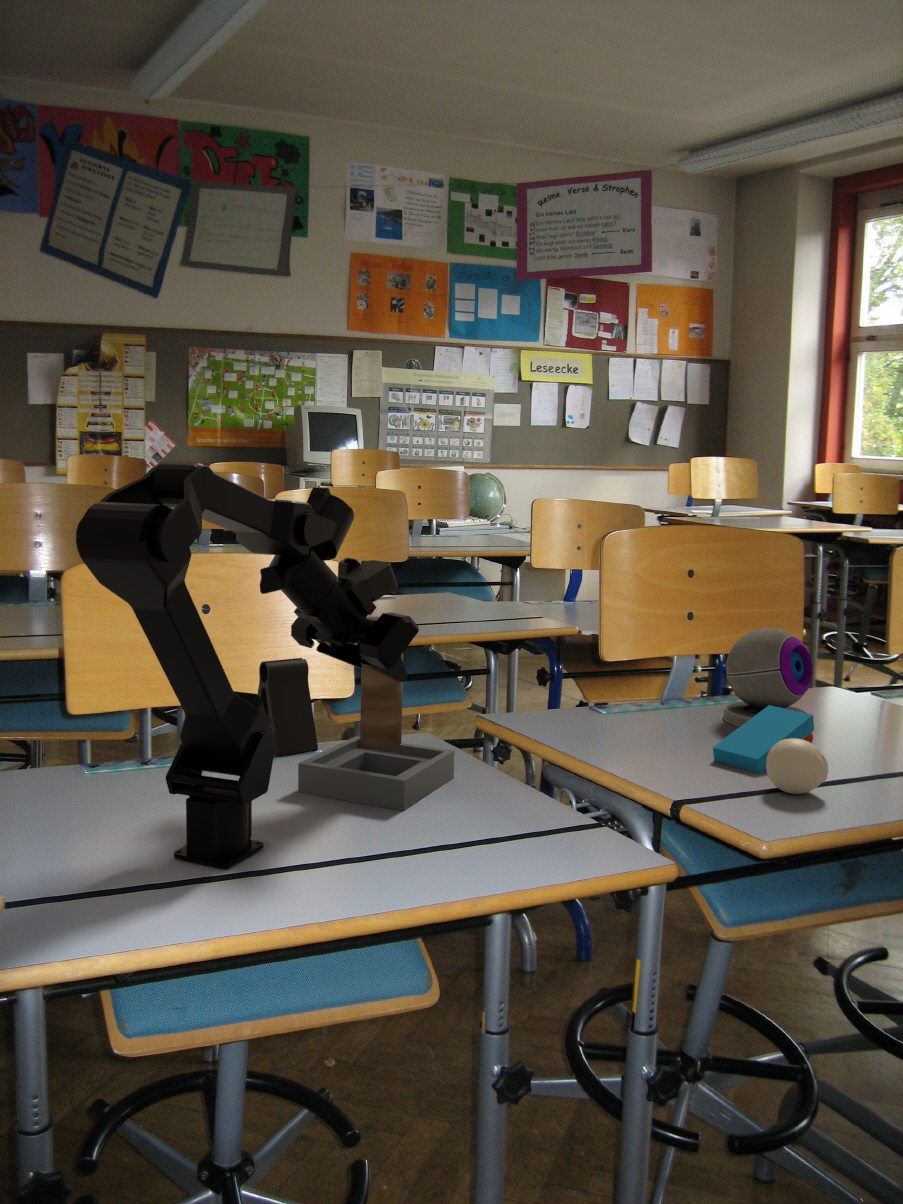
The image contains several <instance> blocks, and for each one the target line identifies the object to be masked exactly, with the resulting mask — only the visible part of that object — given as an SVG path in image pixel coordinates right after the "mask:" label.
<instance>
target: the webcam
mask: <svg viewBox="0 0 903 1204" xmlns="http://www.w3.org/2000/svg"><path fill="white" fill-rule="evenodd" d="M813 669H814V667H813V661H812V657H811V655H810V652H809V650H808V648H807V646H806V645H805V644H804V643H803V641H802V640H800V639H799V638H798V637H796V636H795V635H794V634H792V633H791V632H789V631H786V630H784V629H780V628H777V627H776V628H775V627H762V628H757V629H753V630H752V631H749V632H747V633H746V634H744V635H742V636H741V637H739V639H738V640H737V641H736V642H735V643H734V644H733V646H732V647H731V649H730V651H729V652H728V656H727V660H726V665H725V671H726V677H727V682H728V684H729V686H730V689H731V690H732V691H733V692H734V694H735V696H736V697H738V699H740V701H738V702H733V703H729V704H727V705H726V706H724V710H723V720H724V721H725V722H728V723H729V724H731V725H734V726H737V727H740V726H742V725H743V724H744V723H746V722H747V721H748V720H750V719H751V718H752V717H754V716H755V715H756V714H758V713H759V712H760V711H762V710H763V709H764V708H766V707H767V706H768V705H770V706H775V707H780V708H784V709H789V710H794V711H798V712H803V713H807V711H805V710H803V709H801V708H798V707H796V706H792V705H794V704H796V703H797V702H798V701H799V700H801V699H802V697H803V696H804V695H805V694H806V692H808V690H809V688H810V686H811V683H812V681H813V673H814V672H813Z"/></svg>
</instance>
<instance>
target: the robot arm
mask: <svg viewBox="0 0 903 1204" xmlns="http://www.w3.org/2000/svg"><path fill="white" fill-rule="evenodd" d="M203 520H204V521H206V522H209V523H210V524H213V525H216V526H218V527H221V528H222V529H223V528H224V529H226V530H229V531H231V532H233V533H234V534H236V542H237V543H239V544H240V545H241V546H242V547H244V549H246V550H247V551H249V552H250V553H253V554H259V555H260V554H261V555H262V554H263V555H274V556H273V558H272V560H271V562H270V563H269V566H266V567H262V568H261V569H260V571H259V573H260V581H259V592H260V594H262V595H266V594H270V593H274V592H278V591H281V592H282V593H283V595H285V596H286V597H287V599H288V600H290V601H291V603H292V604H293V605H294V606H295V607H296V608H295V609H294V610H293V613H294V614H295V615H296V616H297V618H296V619H294V622H292V624H291V625H290V629H291V630H290V636H291V638H293V640H294V641H295V642H296V643H297V644H298V645H299V646H301V647H305V648H308V649H313V647H314V646H315V641H316V642H317V643H318V645H317V646H316V649H315V650H316V652H318V653H320V654H322V655H323V654H324V655H325V656H328V657H331V658H333V659H336V660H337V661H341V662H343V663H346V664H347V665H350V666H353V667H354V668H355V667H356V668H358V669H360V670H361V664H362V665H365V666H367V667H369V668H371V669H374V670H376V671H378V672H380V673H382V674H384V675H387V676H389V677H391V678H393V679H395V680H398V681H400V682H403V683H404V682H405V681H406V679H407V678H408V676H409V675H408V671H407V669H406V667H405V663H404V659H403V660H402V658H401V654H402V653H403V654H404V652H405V650H406V649H407V648H408V647H409V645H410V644H411V642H412V641H413V640H414V639H415V637H416V636H417V635H418V633H419V632H420V628H419V627H420V626H419V625H418V624H417V623H416V622H415V620H414V619H413V618H412V617H411V616H410V615H407V614H406V615H405V614H401V613H396V612H382V614H380V616H378V617H379V618H378V620H376V621H373V620H369V619H367V618H366V617H369V616H372V614H373V613H374V612H375V610H376V609H377V606H376V605H375V604H374V602H376V601H377V600H379V599H381V598H383V597H384V596H385V595H387V594H389V593H390V592H392V593H393V592H394V591H396V590H397V589H398V588H399V584H398V582H397V579H396V577H395V573H394V571H393V568H392V565H391V563H390V562H389V561H382V560H374V559H370V560H362V561H361V562H359V561H358V560H357V559H356V558H353V557H344V559H342V560H340V561H338V563H337V564H338V565H337V575H336V573H335V572H334V571H333V570H332V569H331V568H330V566H329V565H328V564H327V563H326V561H331V560H334V559H336V557H337V556H338V553H339V551H340V549H341V547H342V545H343V542H344V541H345V538H346V537H347V535H348V533H349V531H350V529H351V526H352V524H353V522H354V520H355V513H354V510H353V508H352V507H351V506H349V505H348V504H347V502H345V500H343V499H342V498H340V497H338V496H335V495H333V494H332V493H331V490H330V488H329V487H312V489H311V491H310V493H309V495H308V498H307V500H306V502H304V501H298V500H297V501H296V500H288V499H276V498H268V497H265V496H263V495H261V494H259V493H257V492H255V491H254V490H250V489H249V488H247V487H244V486H243V485H240V484H239V483H236V482H234V481H233V480H230V479H228V478H227V477H224V476H222V475H220V474H218V473H217V472H214V471H213V470H212V469H211V468H210V467H209V466H205V465H204V464H202V463H199V462H177V461H175V462H172V461H170V462H169V461H164V462H162V463H159V464H156V465H155V466H152V467H151V468H150V469H149V470H148V471H146V473H145V474H144V475H143V476H142V477H139V478H138V479H136V480H134V481H131V482H130V483H128V484H125V485H124V486H121V487H119V488H117V489H115V490H112V491H110V492H109V493H107V494H106V495H105V496H104V497H103V498H101V499H100V501H99V502H96V503H94V504H92V505H91V506H90V507H89V508H87V510H86V511H85V513H84V514H83V517H81V519H80V521H79V522H78V523H77V526H76V527H77V528H76V530H75V545H76V549H77V552H78V555H79V557H80V559H81V561H82V562H83V564H85V566H86V567H87V569H88V570H89V572H91V574H92V575H93V576H94V578H95V579H96V580H97V582H98V584H100V585H101V586H102V587H104V588H105V589H107V590H108V591H110V592H111V593H112V594H114V595H116V596H117V597H118V598H120V600H123V601H124V602H126V603H127V604H128V605H129V606H130V607H131V609H132V611H133V613H134V615H135V617H136V619H137V622H138V623H139V625H140V627H141V629H142V631H143V632H144V635H145V636H146V638H147V641H148V643H149V644H150V647H151V649H152V650H153V653H154V655H155V657H156V659H157V661H158V662H159V664H160V666H161V668H162V671H163V673H164V675H165V676H166V678H167V680H168V683H169V684H170V686H171V688H172V690H173V693H174V694H175V696H176V699H177V700H178V702H179V704H180V706H181V708H182V710H183V713H184V719H183V722H182V725H181V729H180V732H179V734H178V735H179V737H178V738H179V739H180V743H181V744H180V745H179V747H178V749H177V752H176V753H175V756H174V758H173V760H172V762H171V765H170V766H169V768H168V771H167V772H166V774H165V781H166V785H167V789H168V793H169V794H170V795H182V796H186V797H187V796H188V797H187V798H186V799H185V821H186V822H185V831H186V833H185V836H186V837H185V839H186V842H185V843H186V844H185V845H184V846H183V847H180V848H178V849H176V850H174V851H173V858H175V859H178V860H184V861H188V862H194V863H197V864H201V865H202V864H203V865H207V866H211V867H216V868H220V869H228V868H230V867H232V866H234V865H236V864H238V863H240V862H241V861H242V860H244V859H246V858H249V857H250V856H252V855H253V854H255V853H257V852H259V851H260V850H262V849H263V848H264V842H262V841H259V840H254V839H251V838H252V835H253V832H252V828H253V827H252V825H253V822H252V821H253V820H252V814H253V813H252V810H253V804H252V803H253V802H252V801H254V800H256V799H258V798H260V797H261V796H262V795H265V794H266V793H268V792H269V786H270V785H269V784H270V780H271V775H272V768H273V763H274V758H275V755H274V753H275V740H274V737H273V734H272V730H271V728H270V726H269V724H270V723H271V722H272V720H271V719H270V718H269V717H268V716H267V714H266V712H265V709H264V705H263V702H262V700H261V698H260V697H259V696H258V695H257V694H258V693H253V692H244V691H235V690H233V688H232V685H231V683H230V681H229V678H228V677H227V674H226V672H225V670H224V669H225V668H224V667H223V665H222V663H221V660H220V659H219V656H218V654H217V651H216V650H215V646H214V645H213V642H212V639H211V638H210V636H209V634H208V631H207V630H206V627H205V625H204V622H203V621H202V618H201V616H200V614H199V612H198V609H197V606H196V605H195V603H194V599H193V598H192V596H191V594H190V591H189V590H188V587H187V584H186V581H185V580H186V577H187V573H188V569H189V565H190V562H191V558H192V551H191V546H192V545H193V544H194V542H196V540H198V538H199V537H200V536H201V535H202V533H203ZM314 640H315V641H314ZM362 657H363V659H362ZM203 772H208V773H217V774H222V775H223V774H224V775H230V776H237V777H239V778H238V780H235V779H230V778H221V777H215V776H209V775H202V774H203Z"/></svg>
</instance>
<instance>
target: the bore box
mask: <svg viewBox="0 0 903 1204" xmlns="http://www.w3.org/2000/svg"><path fill="white" fill-rule="evenodd" d="M297 765H298V766H297V769H298V770H297V771H298V773H297V778H298V779H297V782H298V783H297V788H298V789H297V793H303V794H307V795H308V794H309V795H314V796H319V797H326V798H331V799H335V800H342V801H347V802H353V803H359V804H363V805H369V806H370V805H371V806H374V807H375V806H376V807H381V808H385V809H386V808H387V809H392V810H398V811H401V812H404V811H406V810H407V809H409V808H410V807H412V806H413V805H414V804H417V803H418V802H419V801H421V800H423V799H424V798H425V797H427V796H429V795H430V794H431V793H433V792H435V791H436V790H438V789H439V788H441V787H442V786H443V785H445V784H446V783H448V782H450V781H451V780H452V779H454V777H455V750H453V749H448V748H447V749H446V748H439V747H434V746H433V747H432V746H425V745H419V744H413V743H412V744H411V743H406V742H405V743H404V742H401V744H400V745H397V746H394V747H385V748H378V747H369V746H365V745H363V744H361V743H360V735H359V736H358V735H356V736H354V737H351V738H349V739H347V740H345V741H343V742H341V743H338V744H336V745H334V746H333V747H330V748H328V749H325V750H323V751H321V752H320V753H317V754H314V755H313V756H311V757H309V758H306V759H305V760H302V761H300V762H298V764H297Z"/></svg>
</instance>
